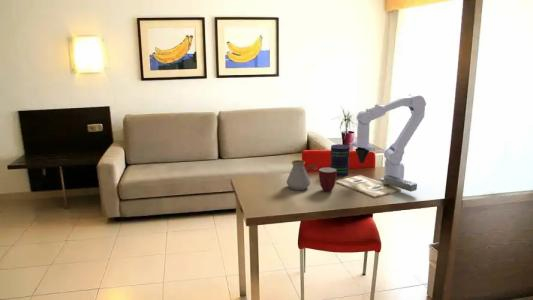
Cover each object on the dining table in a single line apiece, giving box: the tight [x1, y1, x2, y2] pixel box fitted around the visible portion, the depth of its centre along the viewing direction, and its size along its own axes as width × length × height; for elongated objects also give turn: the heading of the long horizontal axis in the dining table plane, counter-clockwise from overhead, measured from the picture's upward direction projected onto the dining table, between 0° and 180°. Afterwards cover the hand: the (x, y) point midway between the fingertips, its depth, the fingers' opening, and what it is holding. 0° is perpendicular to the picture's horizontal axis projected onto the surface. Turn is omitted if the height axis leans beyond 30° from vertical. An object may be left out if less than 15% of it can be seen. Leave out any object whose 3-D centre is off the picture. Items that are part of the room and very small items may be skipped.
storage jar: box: [329, 143, 351, 177], centre depth 207 cm, size 10×10×15 cm
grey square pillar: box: [383, 174, 418, 192], centre depth 180 cm, size 17×4×4 cm, turn 32°
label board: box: [335, 174, 402, 199], centre depth 188 cm, size 17×26×1 cm, turn 31°
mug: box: [318, 167, 337, 193], centre depth 181 cm, size 11×8×10 cm
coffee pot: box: [286, 159, 319, 191], centre depth 182 cm, size 21×12×15 cm, turn 24°
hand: (361, 162), depth 195 cm, fingers closed
